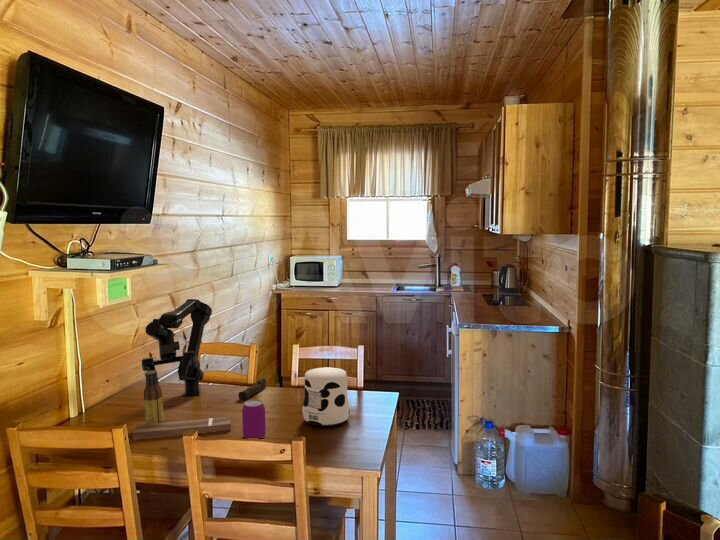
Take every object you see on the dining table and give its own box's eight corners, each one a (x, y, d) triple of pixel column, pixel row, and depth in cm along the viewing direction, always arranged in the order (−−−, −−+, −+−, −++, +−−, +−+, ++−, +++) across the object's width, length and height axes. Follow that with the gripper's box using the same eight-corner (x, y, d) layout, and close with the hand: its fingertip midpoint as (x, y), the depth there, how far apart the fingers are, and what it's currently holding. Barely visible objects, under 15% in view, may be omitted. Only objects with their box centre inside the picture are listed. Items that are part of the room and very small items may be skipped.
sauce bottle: (159, 420, 193) (157, 367, 191) (167, 424, 188) (164, 371, 187) (142, 425, 188) (139, 371, 186) (149, 430, 184) (146, 375, 182)
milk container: (346, 411, 201) (345, 365, 199) (353, 428, 184) (352, 378, 182) (301, 414, 198) (300, 367, 196) (304, 432, 181) (303, 381, 179)
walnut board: (137, 431, 182) (136, 424, 182) (231, 423, 189) (231, 416, 189) (133, 440, 176) (132, 432, 175) (230, 430, 182) (230, 423, 182)
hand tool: (246, 401, 213) (245, 390, 212) (238, 400, 214) (237, 389, 214) (271, 388, 230) (271, 378, 230) (263, 387, 232) (263, 376, 231)
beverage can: (269, 433, 180) (268, 399, 179) (260, 442, 173) (259, 407, 172) (248, 431, 182) (247, 398, 181) (239, 440, 175) (237, 405, 173)
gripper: (138, 338, 191) (142, 378, 183) (191, 331, 198) (197, 369, 190) (141, 351, 200) (144, 389, 192) (192, 343, 207) (197, 380, 199)
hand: (171, 382), depth 193 cm, fingers open, 9 cm apart
